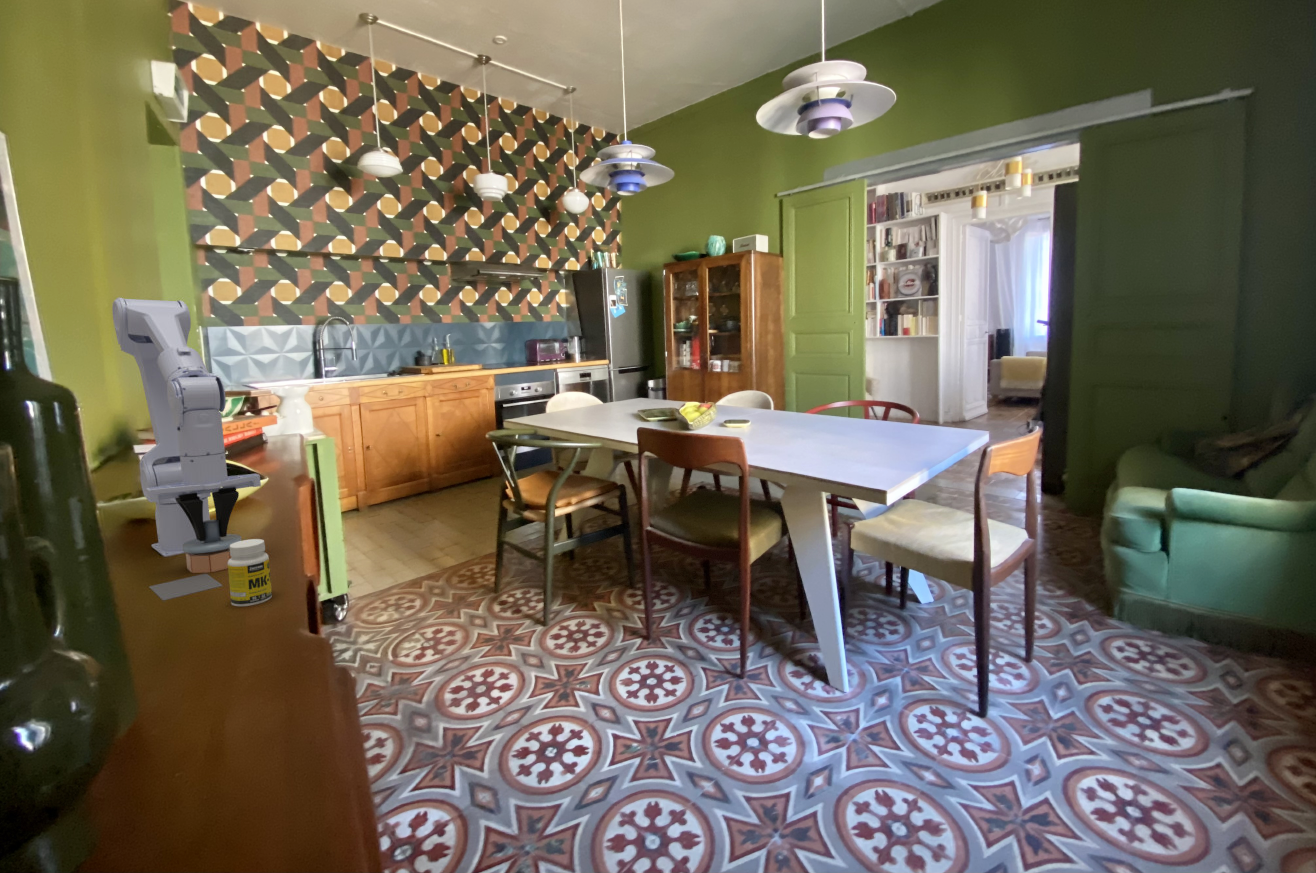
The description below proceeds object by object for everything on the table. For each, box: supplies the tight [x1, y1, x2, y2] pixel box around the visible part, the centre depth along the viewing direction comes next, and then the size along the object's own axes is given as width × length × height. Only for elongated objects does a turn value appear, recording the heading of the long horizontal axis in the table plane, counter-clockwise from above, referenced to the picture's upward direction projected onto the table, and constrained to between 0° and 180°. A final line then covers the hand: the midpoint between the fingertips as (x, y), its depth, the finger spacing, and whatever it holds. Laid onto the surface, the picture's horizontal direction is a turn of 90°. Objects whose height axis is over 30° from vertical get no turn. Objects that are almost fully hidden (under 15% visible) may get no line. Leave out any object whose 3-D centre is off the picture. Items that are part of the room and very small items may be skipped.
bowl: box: [185, 548, 232, 574], centre depth 99 cm, size 7×7×3 cm
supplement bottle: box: [227, 538, 273, 607], centre depth 85 cm, size 5×5×8 cm
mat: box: [148, 572, 224, 602], centre depth 90 cm, size 8×7×1 cm
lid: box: [182, 519, 242, 554], centre depth 98 cm, size 8×8×4 cm
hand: (211, 537), depth 99 cm, fingers closed on lid, 2 cm apart
